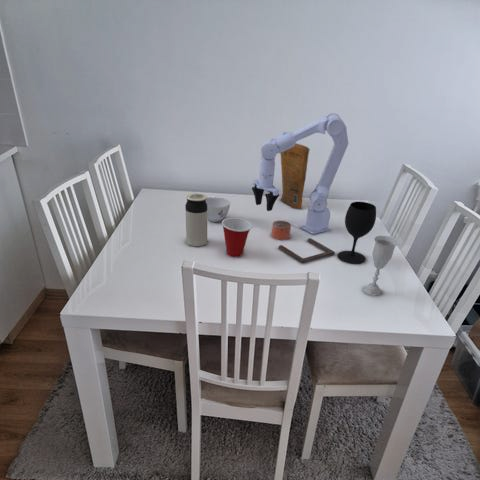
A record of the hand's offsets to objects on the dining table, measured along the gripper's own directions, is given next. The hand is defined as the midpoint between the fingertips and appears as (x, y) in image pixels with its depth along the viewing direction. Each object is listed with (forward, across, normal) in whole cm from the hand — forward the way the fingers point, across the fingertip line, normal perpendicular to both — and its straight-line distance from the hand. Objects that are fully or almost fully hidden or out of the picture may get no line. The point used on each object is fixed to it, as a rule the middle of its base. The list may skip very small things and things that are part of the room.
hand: (263, 207), depth 173 cm
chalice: (+8, +61, 0) cm, 62 cm away
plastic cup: (+8, +17, -25) cm, 31 cm away
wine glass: (+8, +40, +12) cm, 43 cm away
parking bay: (+8, +27, 0) cm, 28 cm away
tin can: (+8, +12, 0) cm, 15 cm away
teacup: (+8, -16, -15) cm, 23 cm away
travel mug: (+8, +2, -33) cm, 34 cm away
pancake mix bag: (+8, -16, +28) cm, 33 cm away
